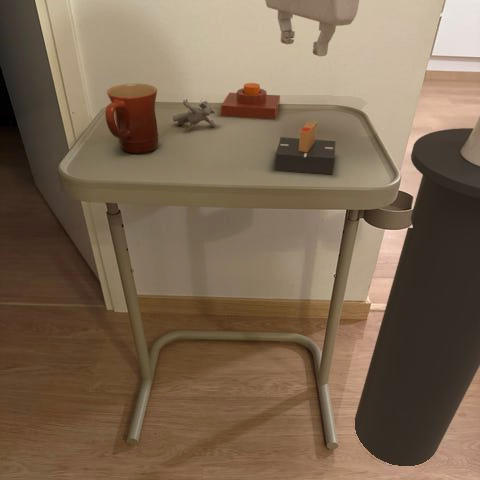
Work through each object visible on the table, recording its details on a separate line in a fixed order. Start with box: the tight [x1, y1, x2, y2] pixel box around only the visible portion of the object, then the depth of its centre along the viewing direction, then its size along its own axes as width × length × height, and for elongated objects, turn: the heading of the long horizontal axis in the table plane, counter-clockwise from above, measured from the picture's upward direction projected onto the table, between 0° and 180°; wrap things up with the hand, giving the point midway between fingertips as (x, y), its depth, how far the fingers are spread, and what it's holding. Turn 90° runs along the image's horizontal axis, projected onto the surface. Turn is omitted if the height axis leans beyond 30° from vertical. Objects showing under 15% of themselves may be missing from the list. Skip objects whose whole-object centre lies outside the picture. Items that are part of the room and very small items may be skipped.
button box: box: [220, 87, 281, 120], centre depth 105 cm, size 12×10×4 cm
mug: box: [104, 83, 159, 155], centre depth 84 cm, size 12×9×10 cm
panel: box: [274, 136, 336, 176], centre depth 83 cm, size 10×9×3 cm
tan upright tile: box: [298, 121, 317, 152], centre depth 80 cm, size 5×2×4 cm, turn 159°
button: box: [243, 82, 261, 94], centre depth 103 cm, size 4×4×2 cm
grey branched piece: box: [172, 97, 217, 132], centre depth 95 cm, size 10×6×9 cm
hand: (302, 49), depth 76 cm, fingers open, 8 cm apart
